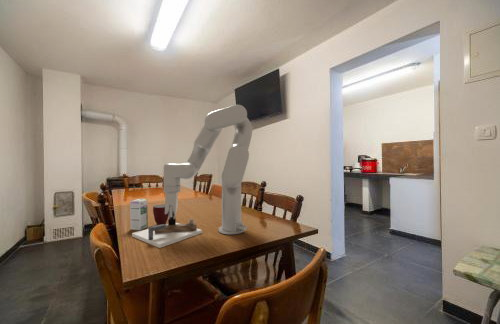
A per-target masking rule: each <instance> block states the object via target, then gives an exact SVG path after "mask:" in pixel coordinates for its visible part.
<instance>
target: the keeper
mask: <svg viewBox="0 0 500 324" xmlns="http://www.w3.org/2000/svg"><path fill="white" fill-rule="evenodd" d="M165 228H166V225H165V224H161V225H157V224H156V225H150V226H148V227H147V229H148V240H153V231H155V230H160V229H165Z"/></svg>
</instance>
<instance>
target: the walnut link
mask: <svg viewBox="0 0 500 324" xmlns="http://www.w3.org/2000/svg"><path fill="white" fill-rule="evenodd" d="M196 229H198V226H197V223H196V222H194V219H193V218H190V219H189V222H188V223H179V224H176V225H166V228H165V229H160V230H155V233H163V232H176V231H194V230H196Z"/></svg>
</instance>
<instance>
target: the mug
mask: <svg viewBox="0 0 500 324" xmlns="http://www.w3.org/2000/svg"><path fill="white" fill-rule="evenodd" d="M152 214H153V218H154V222H155V224H156V225H161V224H167V222H168V219H169V212H168V213H167V214H165V203H163V204H156V205H153V207H152Z"/></svg>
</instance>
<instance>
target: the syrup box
mask: <svg viewBox="0 0 500 324" xmlns="http://www.w3.org/2000/svg"><path fill="white" fill-rule="evenodd" d="M129 217H130V220H129V223H130V230H132V231H142V230H145V228H146V229H147V228H148V227H149V226H148V223H149V222H148V221H149V220H148V217H149V216H148V199H146V198H137V199H134V200H130V201H129Z"/></svg>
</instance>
